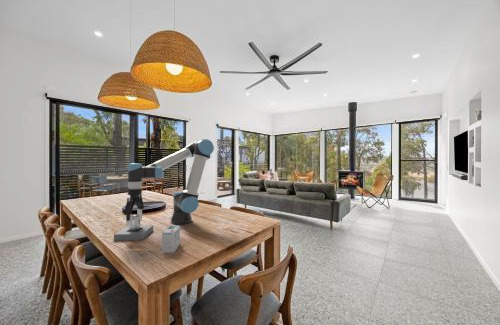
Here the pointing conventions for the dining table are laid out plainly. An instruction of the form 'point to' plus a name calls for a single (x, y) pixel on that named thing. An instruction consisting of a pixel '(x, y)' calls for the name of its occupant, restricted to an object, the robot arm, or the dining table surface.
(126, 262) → the dining table surface
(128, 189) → the robot arm
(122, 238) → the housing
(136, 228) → the end cap
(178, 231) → the light bulb box
